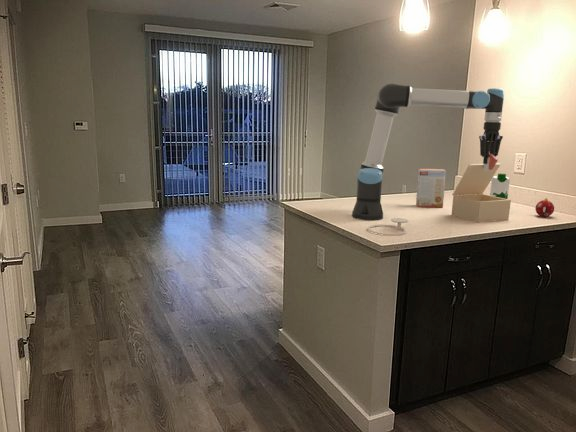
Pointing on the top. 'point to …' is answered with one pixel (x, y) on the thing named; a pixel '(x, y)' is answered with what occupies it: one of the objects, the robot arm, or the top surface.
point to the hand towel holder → (397, 220)
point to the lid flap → (476, 178)
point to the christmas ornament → (544, 208)
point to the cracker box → (430, 188)
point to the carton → (481, 207)
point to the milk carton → (500, 186)
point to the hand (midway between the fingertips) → (487, 170)
